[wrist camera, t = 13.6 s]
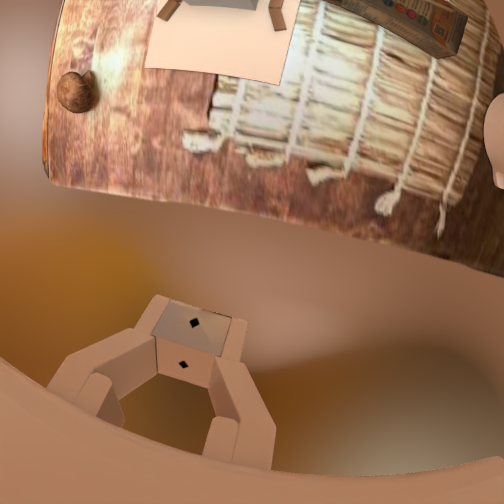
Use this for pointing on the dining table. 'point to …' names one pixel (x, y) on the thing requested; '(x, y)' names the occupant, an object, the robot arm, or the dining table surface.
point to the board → (223, 41)
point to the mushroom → (76, 92)
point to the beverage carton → (415, 21)
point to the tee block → (225, 3)
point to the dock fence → (274, 9)
